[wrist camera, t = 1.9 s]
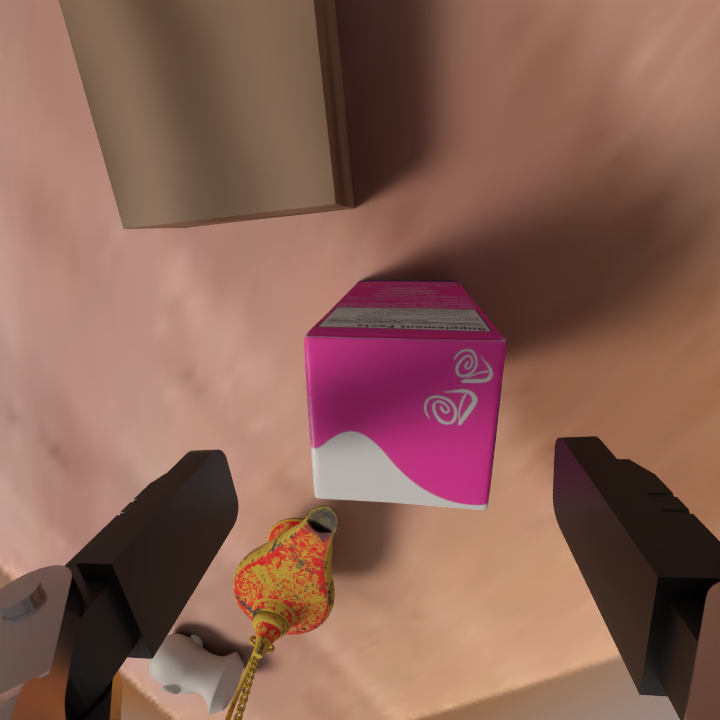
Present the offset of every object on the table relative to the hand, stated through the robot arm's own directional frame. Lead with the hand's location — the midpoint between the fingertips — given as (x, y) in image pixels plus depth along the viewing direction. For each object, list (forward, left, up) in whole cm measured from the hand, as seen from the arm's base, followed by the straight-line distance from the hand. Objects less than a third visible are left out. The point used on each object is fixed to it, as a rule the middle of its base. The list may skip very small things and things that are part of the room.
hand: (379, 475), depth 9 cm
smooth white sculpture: (+21, +29, -14) cm, 38 cm away
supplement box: (0, 0, -14) cm, 14 cm away
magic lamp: (+8, +15, -14) cm, 22 cm away
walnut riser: (+7, -12, -14) cm, 20 cm away
